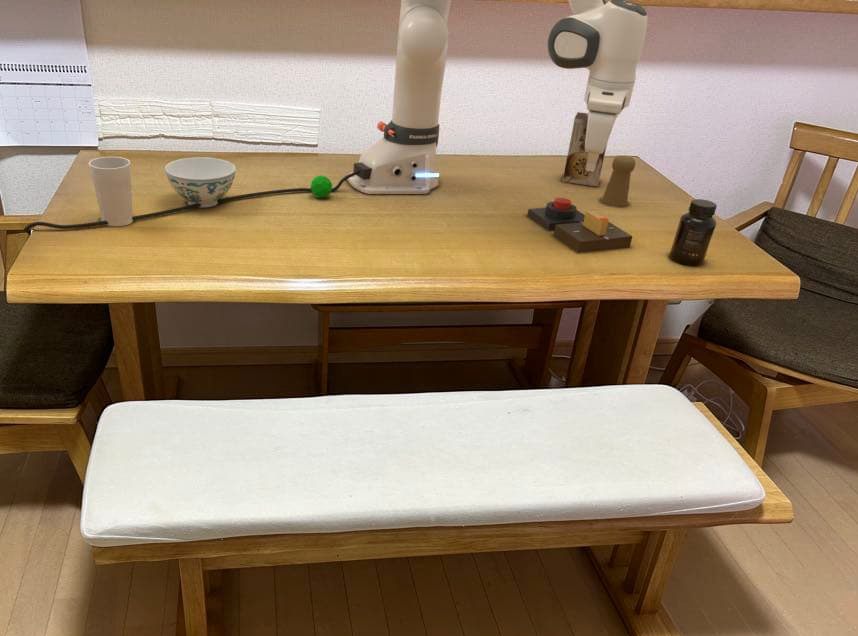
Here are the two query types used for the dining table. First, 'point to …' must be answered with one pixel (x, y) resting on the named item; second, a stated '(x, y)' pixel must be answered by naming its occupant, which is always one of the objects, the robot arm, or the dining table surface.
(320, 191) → the polyhedron
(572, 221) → the alarm box
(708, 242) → the supplement bottle
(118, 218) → the cup
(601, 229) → the upright wooden block
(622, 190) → the brown pawn
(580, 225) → the clock face plate
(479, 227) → the dining table surface
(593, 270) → the dining table surface
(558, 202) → the button
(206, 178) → the chinaware
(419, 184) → the robot arm
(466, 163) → the dining table surface
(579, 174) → the coffee box
